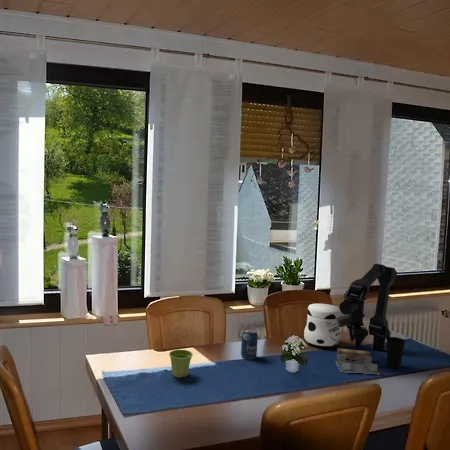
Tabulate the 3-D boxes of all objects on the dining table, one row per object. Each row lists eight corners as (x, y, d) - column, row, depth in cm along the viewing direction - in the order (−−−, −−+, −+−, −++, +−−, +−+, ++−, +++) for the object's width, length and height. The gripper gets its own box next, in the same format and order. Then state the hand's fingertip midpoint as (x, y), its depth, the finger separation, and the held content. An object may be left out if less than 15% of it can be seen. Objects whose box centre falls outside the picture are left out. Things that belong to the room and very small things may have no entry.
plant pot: (195, 372, 205) (196, 351, 204) (186, 381, 196) (187, 359, 195) (174, 368, 208) (175, 348, 207) (164, 377, 199) (164, 355, 198)
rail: (337, 359, 228) (337, 350, 227) (336, 356, 231) (337, 348, 231) (369, 362, 226) (370, 354, 225) (368, 360, 229) (369, 351, 229)
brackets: (335, 362, 224) (336, 353, 223) (371, 364, 223) (372, 355, 223) (341, 373, 212) (342, 363, 211) (379, 375, 212) (380, 365, 211)
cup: (403, 370, 218) (406, 343, 216) (385, 368, 219) (387, 341, 218) (401, 364, 225) (403, 338, 224) (383, 362, 227) (385, 336, 225)
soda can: (248, 361, 220) (249, 334, 219) (237, 356, 225) (238, 329, 224) (259, 358, 224) (261, 331, 223) (248, 353, 230) (250, 327, 228)
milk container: (343, 351, 239) (346, 313, 237) (306, 349, 239) (308, 311, 237) (335, 338, 256) (338, 303, 254) (301, 337, 256) (303, 302, 254)
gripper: (334, 304, 235) (332, 337, 237) (343, 315, 217) (340, 351, 219) (358, 305, 235) (356, 338, 237) (369, 317, 217) (366, 352, 219)
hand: (354, 344), depth 228 cm, fingers open, 9 cm apart
